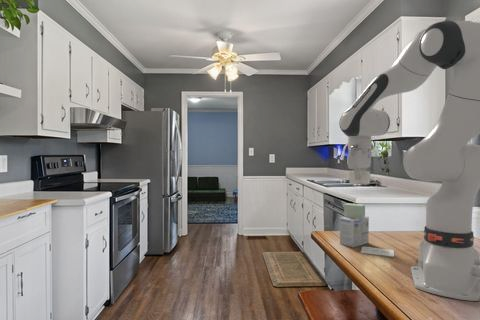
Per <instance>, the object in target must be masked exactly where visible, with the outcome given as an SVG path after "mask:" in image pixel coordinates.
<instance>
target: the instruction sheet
mask: <svg viewBox="0 0 480 320" xmlns="http://www.w3.org/2000/svg"><path fill="white" fill-rule="evenodd" d="M361 246H362V247H361V250H360V253H361V254H368V255H376V256H382V257H390V258H391V257H392V258H395V250H394V249H388V248H387V249H386V248H380V247H379V248H377V247H370V246H363V245H361Z"/></svg>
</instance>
